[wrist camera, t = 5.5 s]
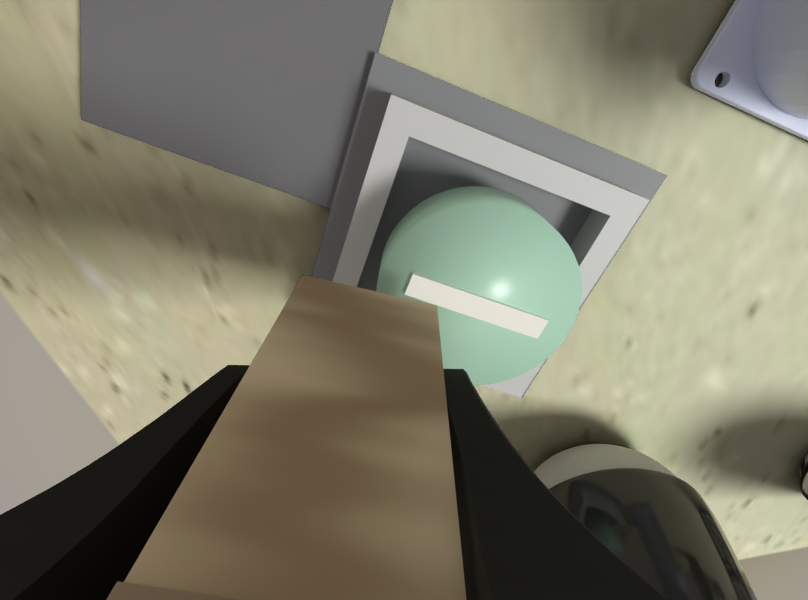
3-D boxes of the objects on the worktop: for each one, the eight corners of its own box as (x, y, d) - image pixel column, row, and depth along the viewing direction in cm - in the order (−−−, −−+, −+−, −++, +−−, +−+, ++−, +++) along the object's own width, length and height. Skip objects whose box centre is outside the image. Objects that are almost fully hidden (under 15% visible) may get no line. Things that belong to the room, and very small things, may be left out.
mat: (416, -81, 13) (416, -88, 13) (334, 205, 18) (331, 209, 17) (93, -236, 12) (78, -251, 11) (92, 118, 16) (81, 119, 16)
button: (593, 225, 15) (626, 250, 13) (507, 367, 18) (521, 408, 16) (417, 156, 14) (418, 171, 12) (358, 319, 17) (349, 356, 15)
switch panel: (653, 170, 17) (690, 183, 15) (517, 384, 22) (529, 418, 20) (377, 54, 15) (371, 48, 13) (301, 317, 20) (288, 345, 18)
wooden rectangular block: (439, 304, 12) (486, 731, 4) (405, 406, 14) (393, 833, 6) (300, 273, 12) (61, 674, 4) (286, 382, 14) (105, 802, 6)
